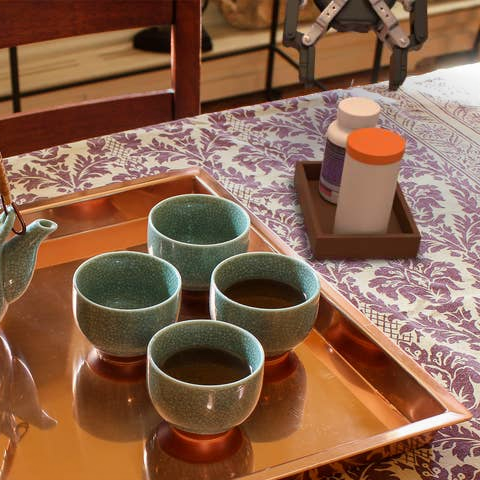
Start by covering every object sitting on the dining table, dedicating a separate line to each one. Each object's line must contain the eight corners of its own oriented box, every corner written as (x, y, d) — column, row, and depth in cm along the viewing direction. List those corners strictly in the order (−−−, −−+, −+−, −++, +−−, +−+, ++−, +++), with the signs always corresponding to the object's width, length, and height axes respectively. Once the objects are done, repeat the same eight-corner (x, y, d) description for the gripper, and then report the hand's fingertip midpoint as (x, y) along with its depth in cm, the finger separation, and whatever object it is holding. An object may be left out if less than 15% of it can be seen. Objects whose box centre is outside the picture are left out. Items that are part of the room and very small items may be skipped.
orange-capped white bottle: (380, 219, 93) (398, 127, 86) (391, 249, 89) (412, 155, 82) (327, 219, 93) (342, 127, 86) (336, 249, 89) (352, 155, 82)
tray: (293, 181, 99) (295, 160, 98) (385, 180, 99) (389, 159, 98) (313, 259, 89) (317, 237, 87) (416, 258, 89) (421, 236, 87)
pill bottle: (371, 209, 94) (389, 121, 88) (317, 205, 95) (330, 116, 89) (371, 182, 98) (387, 95, 92) (318, 177, 99) (331, 91, 93)
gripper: (292, -89, 93) (285, 72, 92) (438, -86, 92) (433, 76, 91) (283, -51, 100) (277, 98, 99) (419, -49, 99) (414, 102, 98)
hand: (351, 87), depth 95 cm, fingers open, 8 cm apart
